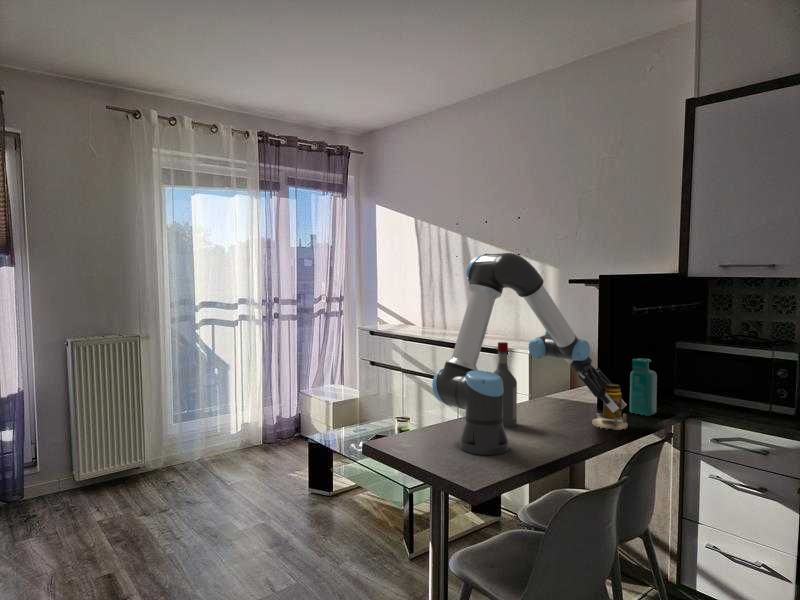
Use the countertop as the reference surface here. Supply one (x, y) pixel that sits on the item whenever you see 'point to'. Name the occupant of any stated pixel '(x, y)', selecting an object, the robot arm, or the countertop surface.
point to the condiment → (615, 395)
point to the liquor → (507, 387)
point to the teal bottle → (643, 388)
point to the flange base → (611, 423)
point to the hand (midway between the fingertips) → (619, 408)
